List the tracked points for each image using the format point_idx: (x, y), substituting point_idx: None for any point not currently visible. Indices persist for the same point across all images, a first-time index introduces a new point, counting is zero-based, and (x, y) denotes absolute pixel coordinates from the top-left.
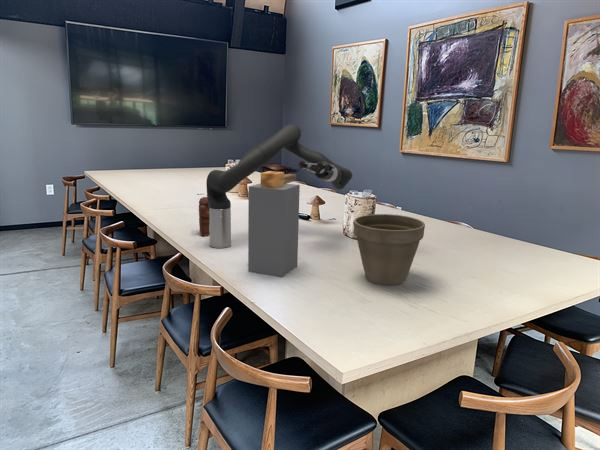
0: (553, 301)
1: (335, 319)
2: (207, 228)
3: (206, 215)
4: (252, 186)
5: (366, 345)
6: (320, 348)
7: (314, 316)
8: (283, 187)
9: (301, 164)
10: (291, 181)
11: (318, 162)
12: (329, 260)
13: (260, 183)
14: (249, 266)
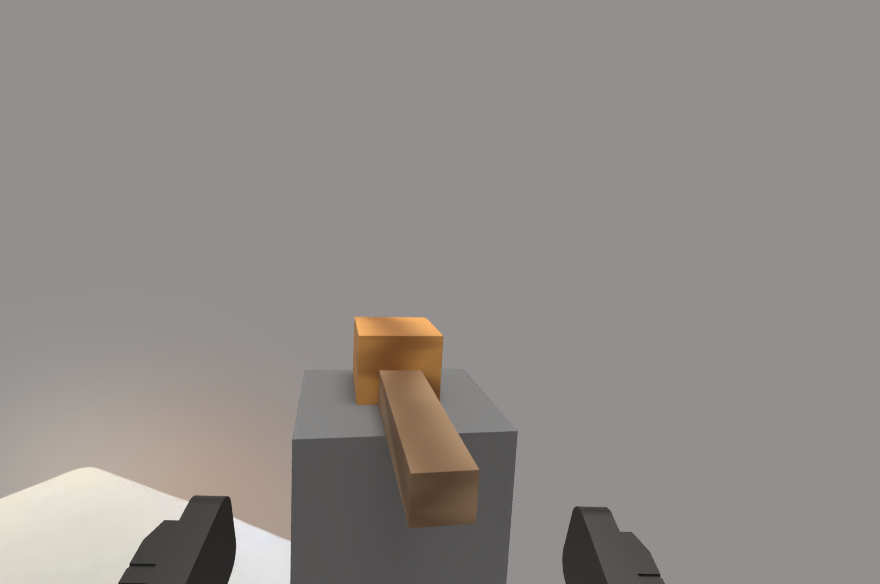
0: None
1: (83, 554)
2: None
3: None
4: (453, 371)
5: (27, 511)
6: (122, 484)
7: (138, 546)
8: (335, 388)
9: (573, 566)
10: (395, 470)
11: (212, 496)
12: None
13: (491, 403)
14: None
